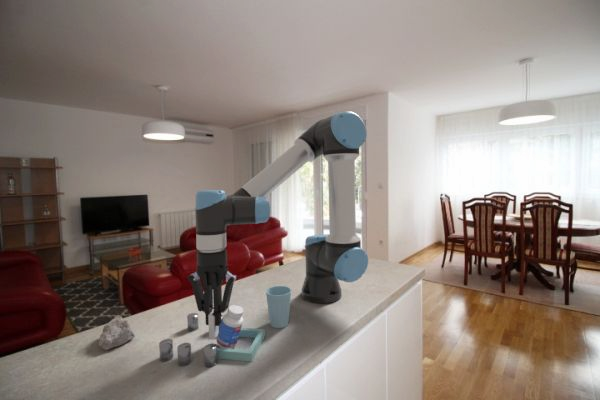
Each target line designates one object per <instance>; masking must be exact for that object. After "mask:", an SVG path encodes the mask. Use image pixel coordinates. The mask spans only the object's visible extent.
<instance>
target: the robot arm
mask: <svg viewBox="0 0 600 400" xmlns="http://www.w3.org/2000/svg"><path fill="white" fill-rule="evenodd" d="M367 136H368V135H367V127H366V125H365V122H364V121H363V119H362V118H361V117H360V115H358V114H357V113H355V112H353V111H349V110H347V111H342V112H337V113H335V114H333V115H330V116H328V117H326V118H325V117H324V118H323V119H320V120H318V121H316V122H315V123H313V124H312V125H311V126H310V127H309V128H307V130H305V131H304V132H303V133H302V134H301V135H299V136H298V137H297V138H296V139H295V140H294V144H293V145H292V146H291V147H290V148H288V149H287V150H285V152H283V153H282V154H281V155H279V156H278V157H277V158H276V159H275V160H273V161H272V162H271V163H270V164H269V165H267V166H266V167H265V168H264V169H262V170H261V171H260V172H258V174H256V175H255V176H254V177H252V178H251V179H250V180H249V181H248V182H246V183H245V184H244V185H242V186H241V187H240V188H239V189H237V190H236V191H235V192H234V193H232V194H229V195H227V194H226V191H225V190H221V189H217V190H215V189H210V190H209V189H207V190H198V191H197V192H196V194H195V208H194V210H195V229H196V230H195V231H196V233H195V235H196V239H195V240H196V241H195V242H196V243H195V245H196V249H197V251H196V264H197V267H196V271H195V272H192V273H191V274H190V275H188V276H187V279H188V281H189V282H190V284H191V286H192V287H191V288H192V292H193V295H194V300H195V303H196V307H197V310H198V312H203V313H204V314H205V317H204V318H205V325H206V326H208V340H215V339H217V336H218V333H219V325H220V324H221V322H222V320H221V315H222V314H224V313H225V312H227V311H228V309H229V307H230V306H229V305H230V301H231V297H232V292H233V288H234V283H235V281H237V278H238V276H237V274H232V273H231V272H230V270H229V267H228V252H227V251H228V250H227V249H226V247H227V245H228V244H227V226H235V225H250V224H253V225H255V224H256V225H257V224H260V223H261V224H262V223H267V222H268V221H269V219H270V217H271V205H270V204H271V203H270V201H269V199H268V198H267V197H268V196H270V194H271V193H272V192H274V191H275V190H276V189H278V187H280V185H282V184H283V183H284V182H286V181H287V180H288V179H289V178H290V177H292V175H294V174H295V173H296V172H297V171H299V170H300V168H302V167H303V166H304V165H305V164H306V163H308V162H309V163H310V162H313V161H314V160H316V159H317V158H319V157H321V156H322V157H323V158H324V159H325V160H326V162H327V169H328V170H327V172H328V173H327V177H328V215H329V216H328V217H329V219H328V220H329V234H328V233H327V234H317V235H316V234H313V235H310V236H309V235H308V236H307V237H306V238H305V245H304V249H305V277H304V280H303V282H302V287H301V297H302V298H303V299H304V300H305V301H308V302H311V303H315V304H330V303H334V302H337V301H339V300H340V299H341V298H342V295H343V293H342V287H341V284H340V281H343V282H345V283H354V282H357V281H358V280H359V279H361V278H362V277H363V275H364V274H365V273H366V271H367V269H368V266H369V256H368V254H367V252H366V251H365V249H363V248H362V247H361V245H362V243H361V242H362V241H361V237H359V235H358V234H357V233H356V232H357V231H356V225H357V224H356V220H357V219H356V176H355V175H356V172H355V171H356V169H355V163H356V162H355V161H356V160H357V158H358V157H359V156H360V148H361V147H362V146H363V145H364V143H365V142H366V139H367ZM224 280H225V282H226V284H225V286H224V290H223V289H222V286H223V281H224ZM222 290H223V292H222ZM222 293H223V294H222Z"/></svg>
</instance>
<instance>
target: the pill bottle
mask: <svg viewBox="0 0 600 400" xmlns="http://www.w3.org/2000/svg"><path fill="white" fill-rule="evenodd" d="M243 308H244V307H242V306H239V305H237V304H232V305H230V306H228V308H227V311H226V313H225V314H223V319H222V323H221V326H220V329H219V333H218V336H217V337H216V345H217V346H219V348H228V349H234V348H235V347H236V346H237V345H238V344H237V343H238V341H239V338H240V337H239V334H240V330H241V328H243V323H244V318H243V314H244V309H243Z"/></svg>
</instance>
